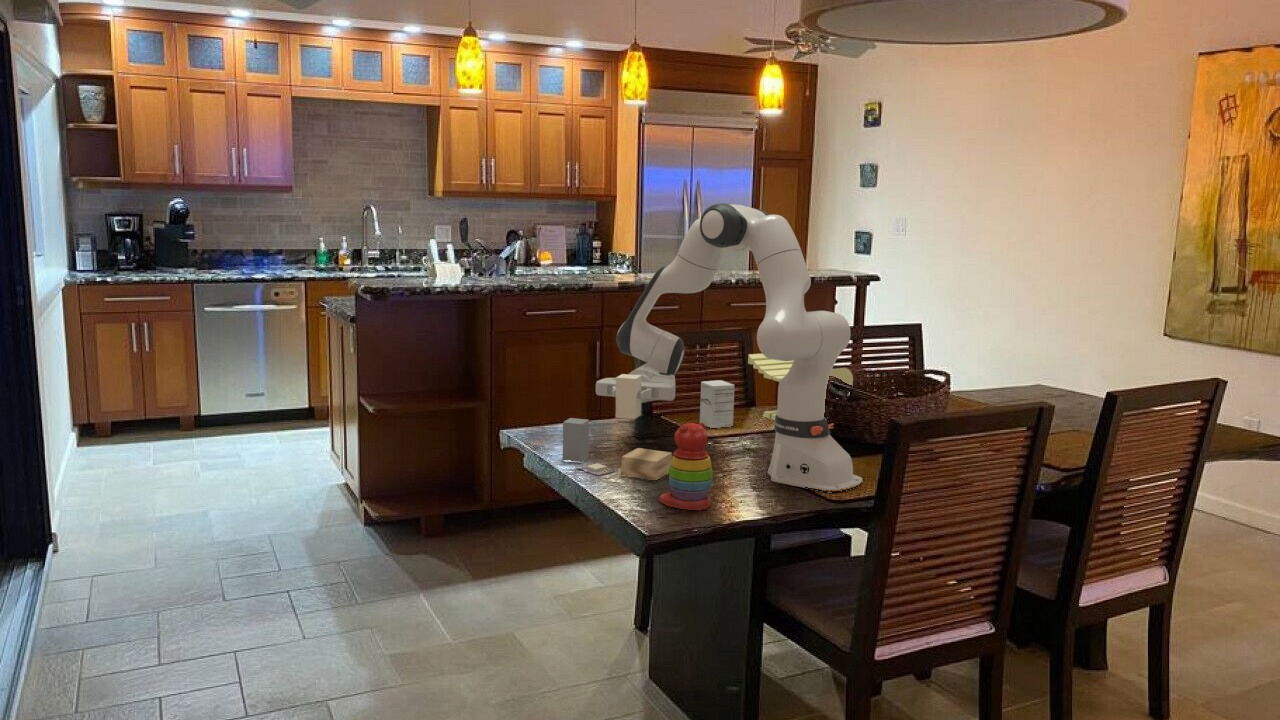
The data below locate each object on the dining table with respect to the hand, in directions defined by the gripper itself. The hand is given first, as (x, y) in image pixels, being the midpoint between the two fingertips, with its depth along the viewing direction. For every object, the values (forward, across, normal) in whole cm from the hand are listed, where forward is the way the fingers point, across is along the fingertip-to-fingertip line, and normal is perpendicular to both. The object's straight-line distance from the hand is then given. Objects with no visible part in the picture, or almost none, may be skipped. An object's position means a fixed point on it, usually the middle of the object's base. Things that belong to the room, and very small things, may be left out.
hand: (627, 394), depth 235 cm
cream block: (-1, 0, +6) cm, 6 cm away
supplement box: (-45, +14, +17) cm, 50 cm away
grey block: (+4, -12, +17) cm, 21 cm away
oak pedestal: (+9, +8, +17) cm, 21 cm away
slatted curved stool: (-62, +35, +17) cm, 73 cm away
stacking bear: (+28, +22, +17) cm, 40 cm away
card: (+10, -4, +17) cm, 20 cm away
